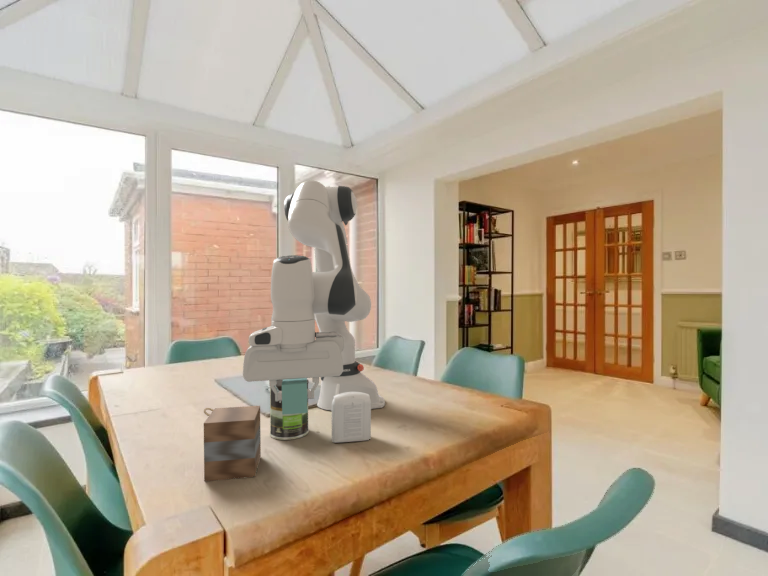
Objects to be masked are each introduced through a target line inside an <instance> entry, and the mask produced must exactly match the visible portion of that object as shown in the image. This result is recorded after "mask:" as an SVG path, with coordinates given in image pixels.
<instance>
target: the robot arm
mask: <svg viewBox="0 0 768 576" xmlns="http://www.w3.org/2000/svg"><path fill="white" fill-rule="evenodd" d="M357 207H358V202H357V198H356V195H355V193H354V191H353V190H352V189H351V188H350V187H349V186H343V185H338V186H325V185H324V184H323V183H321V182H319V181H317V180H312V179H311V180H305V181H303V182H301V183H300V184H299V185H298V186H297V187H296V189H295V191H294V192H292V193H290V194H288V195H287V196H286V197H285V199H284V202H283V212H284V215H285V218H286V220H287V221H286V222H287V225H288V229H289V232H290V234H291V235H292V237H293V238H294V239H295V240H296V241H297V242H299V243H300V244H301V245H303V246H306V247H311V248H313V249H314V258H315V265H316V266H315V267H316V271H313V267H312V263H311V259H310V258H309V257H307V256H305V255H294V254H293V255H282V256H279V257H277V258H275V259H274V260H273V262H272V268H271V277H270V301H271V302H270V303H271V304H272V314H271V323H270V326H266V327H264V328H262V329H258V330H256V331H253V332H252V333H251V334H250V335H248V344H249V345H250V346H249V347H247V349H246V351H245V354H244V357H243V363H242V377H243V379H244V381H246V383H247V382H248V383H251V382H264V381H268V382H269V388H270V387H271V389H272V390H273V392H274V393H275V401H282V391H279V390H278V388H277V387H276V384H277V380H284V379H300V378H307V379H311V378H312V386H311V388H308V389H307V399H308V400H313V399H314V400H315V391H316V389H317V387H318V386H319V383H320V389H319V390H320V391H319V397H318V400H317V403H316V407H318V408H319V409H322V410H327V411H332V401H333V397H334V396H335V395H338V394H341V393H345V392H362V393H366V394H369V396H370V400H371V410H372V409H373V410H374V409H381V408H383V407H384V406H385V405H386V401H385V398H384V397H383V396H381V395H380V394H379V392H378V391H379V390H378V388H377V385H376V383H375V382H374V381H373V380H371V379H370V378H369V377H367V376H366V375H365V374H364V373H362V371H364V368H365V367H364V365H363V364H361V363H360V362H359V361H356V342H355V341H356V340H355V337H354V336H353V334H352V333H351V332H350V331H349V330H348V328H347V325H346V323H347V322H348V323H349V322H350V323H352V322H359V321H362V320H364V319H366V318H368V316H369V315H370V313H371V310H372V301H371V297H370V295H369V293H367V291H365V290H364V289H363V288H362V287H361V286H360V284H359V283H358V281H357V279H356V277H355V274H354V272H353V269H352V267H351V258H350V253H349V244H348V238H347V232H346V229H345V226H347V225H348V223H349V222H350V221H352V220H353V219H354V218H355V216H356V212H357V209H358V208H357ZM344 225H345V226H344ZM316 327H317V328H318V331H317V332H316ZM320 380H321V381H320Z"/></svg>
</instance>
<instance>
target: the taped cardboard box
mask: <svg viewBox="0 0 768 576" xmlns="http://www.w3.org/2000/svg"><path fill="white" fill-rule="evenodd" d="M209 414H210V415H209V416H207V418H206V419H205V421H204V422H203V474H204V475H203V476H204V477H203V481H204V482H211V481H223V480H225V481H226V480H235V478H236V479H244V477H247V478H254V477H253V476H255V477H256V474H257V472H256V471H257V470H258V468H257V467H259V464H260V461H261V458H262V457H261V454H262V452H261V451H262V450H261V443H262V442H261V405H247V406H246V405H245V406H232V407H231V406H230V407H217V408H214V409H213V411H211V413H209ZM233 478H234V479H233Z"/></svg>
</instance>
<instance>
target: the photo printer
mask: <svg viewBox="0 0 768 576" xmlns="http://www.w3.org/2000/svg"><path fill="white" fill-rule="evenodd" d="M371 433H372V409H371V400H370V396H369V394H366V393H362V392H345V393H341V394H338V395H335V396H334V397H333V401H332V410H331V442H332V443H334V444H335V443H336V444H337V443H348V442H350V443H351V442H363V441H370V440H371V439H372V437H371V436H372V434H371ZM369 439H370V440H369Z"/></svg>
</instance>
